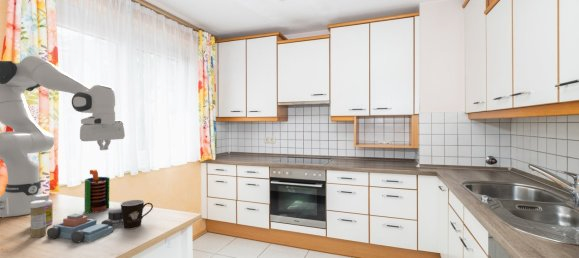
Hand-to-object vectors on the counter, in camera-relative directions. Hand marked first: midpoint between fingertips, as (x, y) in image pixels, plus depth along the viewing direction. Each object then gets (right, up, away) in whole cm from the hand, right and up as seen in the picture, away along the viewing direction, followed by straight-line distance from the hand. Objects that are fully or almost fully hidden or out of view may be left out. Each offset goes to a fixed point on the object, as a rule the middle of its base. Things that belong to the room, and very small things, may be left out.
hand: (104, 150), depth 129 cm
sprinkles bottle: (-11, -32, -21) cm, 40 cm away
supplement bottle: (-19, -31, -11) cm, 38 cm away
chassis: (+4, -32, -19) cm, 37 cm away
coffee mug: (+20, -32, -10) cm, 39 cm away
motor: (-10, -31, +10) cm, 34 cm away
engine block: (+1, -30, -18) cm, 35 cm away
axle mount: (+10, -31, -6) cm, 33 cm away
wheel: (+10, -29, -6) cm, 32 cm away
